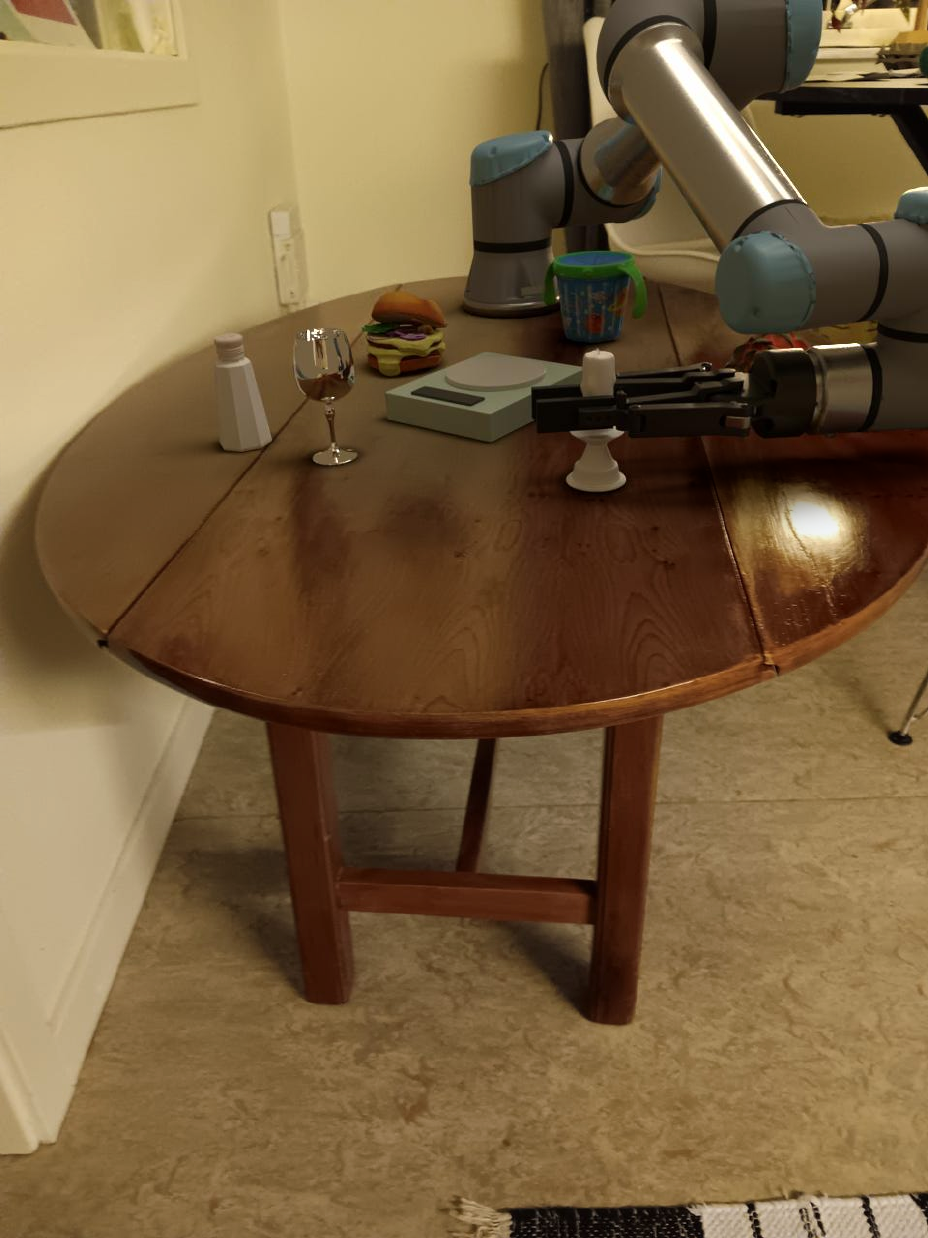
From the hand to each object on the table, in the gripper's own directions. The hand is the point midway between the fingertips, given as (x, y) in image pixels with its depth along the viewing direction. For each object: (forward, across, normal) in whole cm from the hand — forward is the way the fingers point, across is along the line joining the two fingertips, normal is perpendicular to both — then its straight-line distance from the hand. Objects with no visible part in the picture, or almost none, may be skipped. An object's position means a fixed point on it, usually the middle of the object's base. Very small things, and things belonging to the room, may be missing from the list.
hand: (534, 409), depth 82 cm
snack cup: (-13, +49, -7) cm, 51 cm away
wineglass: (+19, +10, -7) cm, 23 cm away
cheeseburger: (+12, +41, -7) cm, 44 cm away
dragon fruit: (-27, +18, -7) cm, 33 cm away
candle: (-5, 0, -7) cm, 9 cm away
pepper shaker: (+28, +16, -7) cm, 33 cm away
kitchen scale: (+3, +23, -7) cm, 24 cm away
